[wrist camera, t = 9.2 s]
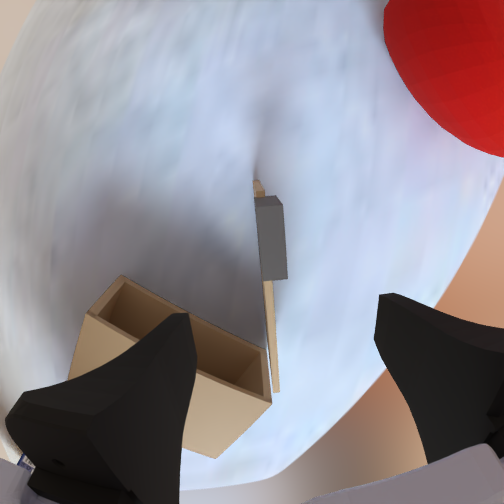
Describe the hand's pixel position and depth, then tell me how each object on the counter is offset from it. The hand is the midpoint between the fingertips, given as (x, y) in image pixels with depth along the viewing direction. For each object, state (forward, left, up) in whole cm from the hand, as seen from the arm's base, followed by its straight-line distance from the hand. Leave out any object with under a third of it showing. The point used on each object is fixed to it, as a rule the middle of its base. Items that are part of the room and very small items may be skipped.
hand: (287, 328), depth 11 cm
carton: (-11, +2, -10) cm, 15 cm away
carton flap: (-1, -1, -10) cm, 10 cm away
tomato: (+19, -4, -11) cm, 22 cm away
